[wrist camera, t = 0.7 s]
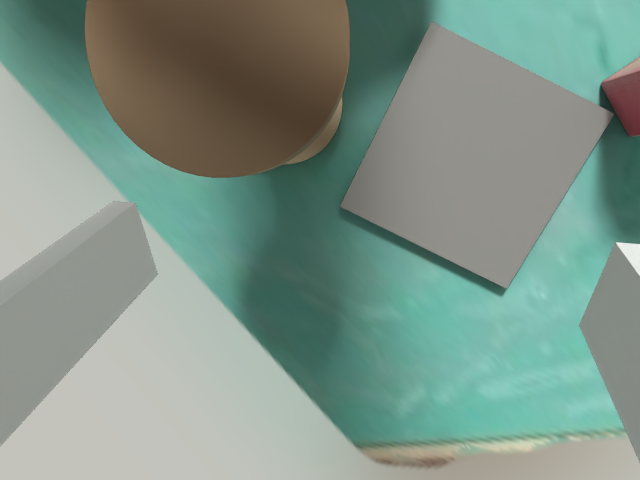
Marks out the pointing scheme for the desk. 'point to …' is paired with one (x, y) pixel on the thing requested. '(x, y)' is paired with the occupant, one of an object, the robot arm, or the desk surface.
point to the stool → (221, 78)
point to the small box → (626, 96)
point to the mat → (473, 156)
